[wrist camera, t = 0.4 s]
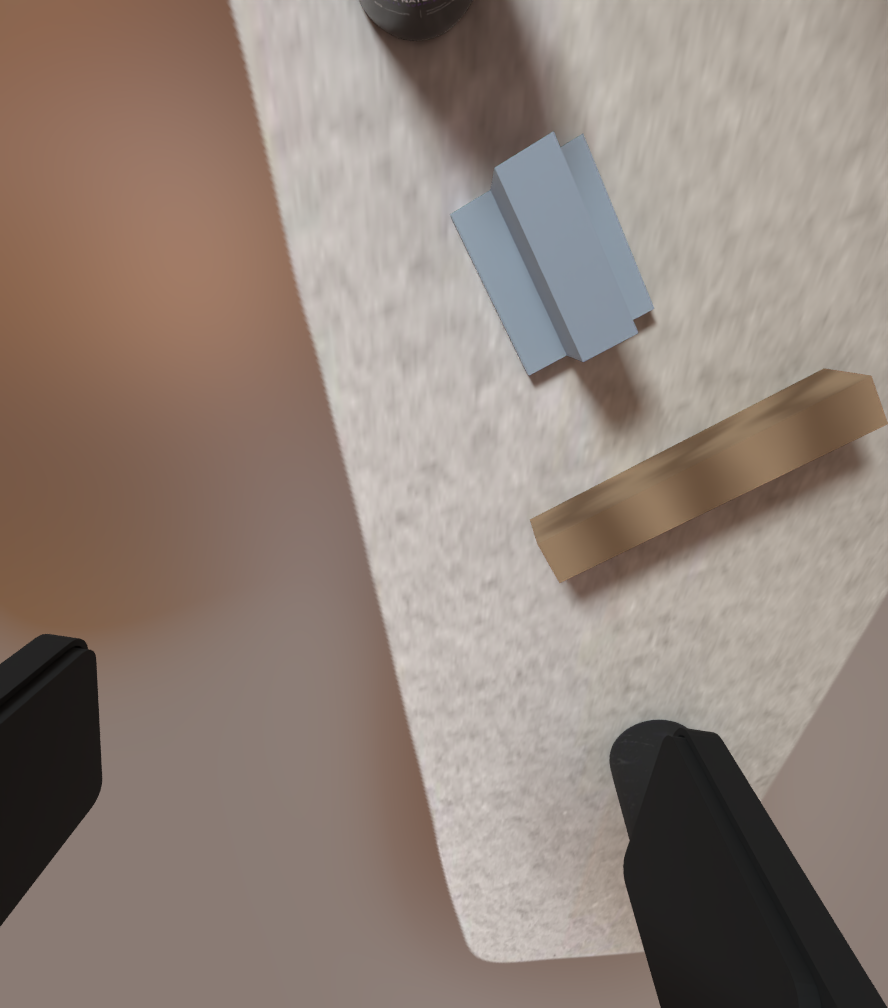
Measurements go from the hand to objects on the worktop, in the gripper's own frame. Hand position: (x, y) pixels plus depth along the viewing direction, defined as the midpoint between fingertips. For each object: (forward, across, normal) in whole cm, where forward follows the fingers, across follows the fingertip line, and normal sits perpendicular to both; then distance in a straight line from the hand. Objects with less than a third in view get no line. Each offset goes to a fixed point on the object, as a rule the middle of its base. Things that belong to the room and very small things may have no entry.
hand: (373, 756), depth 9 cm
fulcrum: (+28, -5, -11) cm, 31 cm away
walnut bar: (+29, -16, 0) cm, 33 cm away
